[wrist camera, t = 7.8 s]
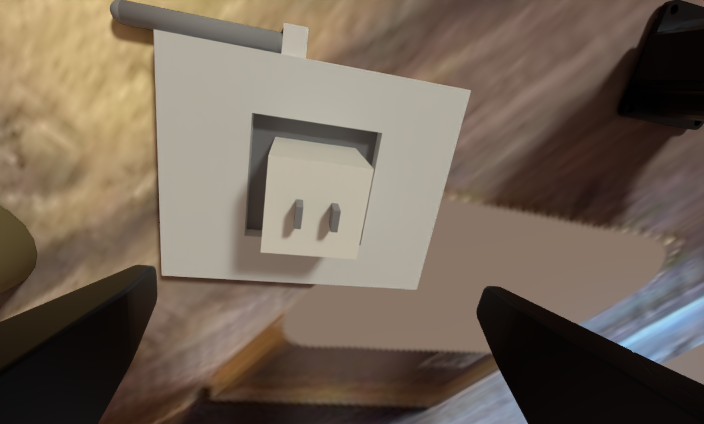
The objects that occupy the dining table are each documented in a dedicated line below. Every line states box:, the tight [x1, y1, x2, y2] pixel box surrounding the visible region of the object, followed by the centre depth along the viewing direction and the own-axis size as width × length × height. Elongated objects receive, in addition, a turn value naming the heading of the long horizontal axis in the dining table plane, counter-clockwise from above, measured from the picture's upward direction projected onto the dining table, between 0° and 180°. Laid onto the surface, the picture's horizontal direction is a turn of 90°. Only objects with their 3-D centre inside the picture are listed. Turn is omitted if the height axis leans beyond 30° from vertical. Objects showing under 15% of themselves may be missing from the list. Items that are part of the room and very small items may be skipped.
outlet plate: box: [154, 29, 471, 290], centre depth 20 cm, size 16×13×1 cm
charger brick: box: [261, 137, 374, 259], centre depth 17 cm, size 5×5×6 cm
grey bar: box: [110, 0, 309, 58], centre depth 16 cm, size 9×2×1 cm, turn 80°
